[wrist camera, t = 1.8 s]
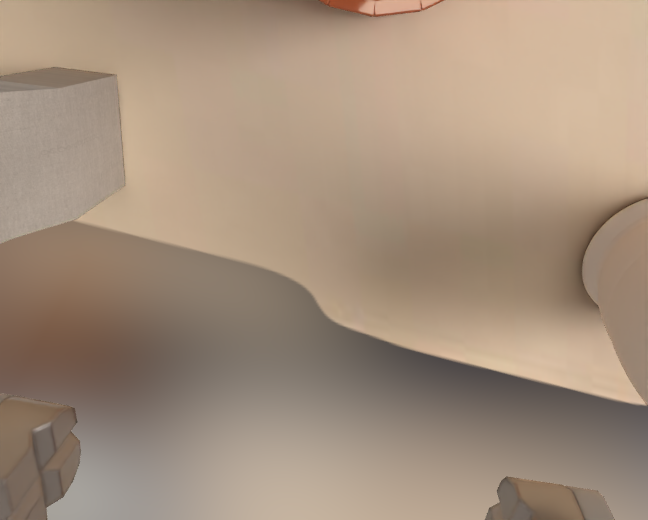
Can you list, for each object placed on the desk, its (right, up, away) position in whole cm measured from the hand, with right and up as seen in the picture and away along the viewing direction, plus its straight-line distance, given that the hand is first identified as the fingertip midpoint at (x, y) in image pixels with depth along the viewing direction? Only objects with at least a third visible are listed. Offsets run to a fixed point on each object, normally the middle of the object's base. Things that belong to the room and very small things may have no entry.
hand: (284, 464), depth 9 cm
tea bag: (-14, +12, +22) cm, 28 cm away
